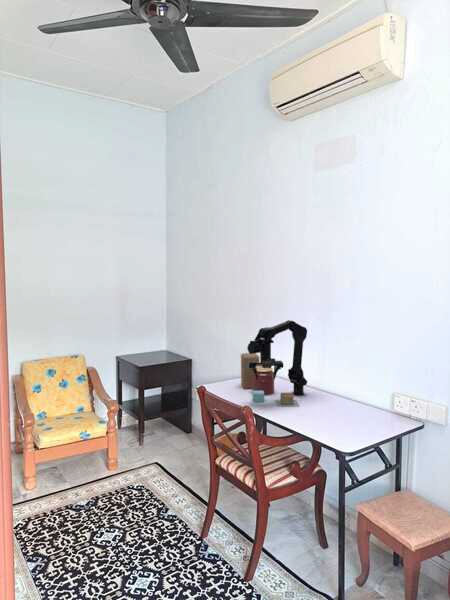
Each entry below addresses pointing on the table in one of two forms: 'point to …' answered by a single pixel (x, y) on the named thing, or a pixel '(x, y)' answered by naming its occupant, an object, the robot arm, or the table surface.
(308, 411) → the table surface
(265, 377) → the canister
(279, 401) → the mat
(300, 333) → the robot arm
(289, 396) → the walnut block
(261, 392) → the teal block
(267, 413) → the table surface
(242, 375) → the wooden block
